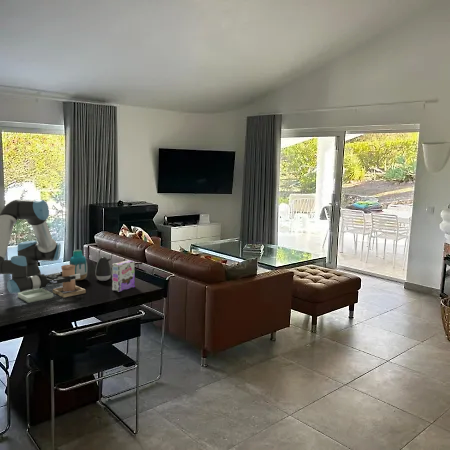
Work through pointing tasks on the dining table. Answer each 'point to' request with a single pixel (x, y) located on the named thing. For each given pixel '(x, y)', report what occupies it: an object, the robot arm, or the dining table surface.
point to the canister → (68, 271)
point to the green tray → (35, 295)
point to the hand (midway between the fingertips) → (76, 274)
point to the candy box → (123, 275)
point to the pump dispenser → (103, 269)
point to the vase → (79, 264)
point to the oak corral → (80, 291)
